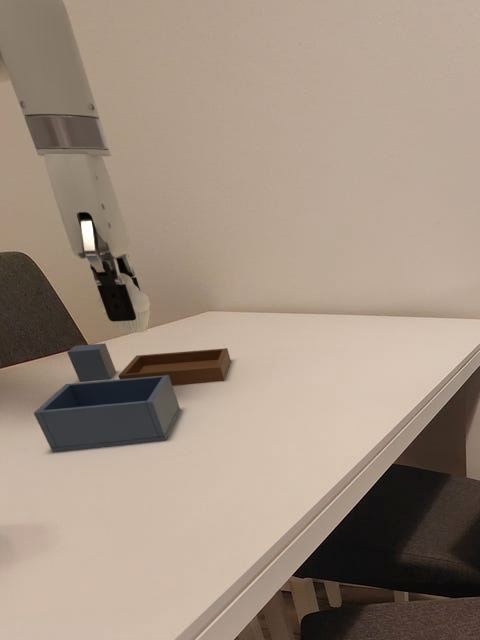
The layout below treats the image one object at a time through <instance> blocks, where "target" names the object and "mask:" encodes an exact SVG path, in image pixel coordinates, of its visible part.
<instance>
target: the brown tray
mask: <svg viewBox="0 0 480 640" xmlns="http://www.w3.org/2000/svg"><path fill="white" fill-rule="evenodd" d="M231 362H232V360H231V357H230V352H229V349H228V347H225V348H212V349H202V350H189V351H188V350H186V351H175V352H163V353H150V354H138V355H135V356H134V358H132V360H131V361H129V363H128V364H127V365H126V367H125V368H124V369H123V370H122V371H121V372H120V373H119V374H118V379H130V378H141V377H153V376H164V375H169V377H170V380H171V383H172V386H184V385H194V384H196V385H197V384H206V383H216V382H225V380H226V377H227V374H228V371H229V368H230V365H231Z"/></svg>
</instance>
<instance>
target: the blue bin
mask: <svg viewBox="0 0 480 640" xmlns="http://www.w3.org/2000/svg"><path fill="white" fill-rule="evenodd" d="M173 386H174V385H173ZM173 386H172V383H171V380H170V377H169V375H164V376H153V377H141V378H130V379H119V378H118V379H110V380H98V381H86V382H71V383H65V384H64V385H63V386H62V387H61V388H59V389H58V390H57V391H56V392H55V393H54V394H53V395H51V397H50V398H48V399H47V400H46V401H45V402H44V403H43V404H42V405H41V406H39V407H38V408H37V409H36V410H35V411H34V412H33V415H34V417H35V419H36V422H37V423H38V426H39V427H40V429H41V431H42V434H43V435H44V437H45V440H46V441H47V444H48V445H49V448H50V449H51V452H52V453H53V454H54V453H61V452H72V451H82V450H90V449H91V450H92V449H93V450H94V449H101V448H111V447H119V446H131V445H139V444H147V443H157V442H158V443H159V442H167V441H168V438H169V436H170V434H171V432H172V429H173V427H174V426H175V423H176V421H177V419H178V417H179V415H180V413H181V408H180V405H179V401H178V399H177V396H176V392H175V388H174V387H173Z"/></svg>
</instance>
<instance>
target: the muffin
mask: <svg viewBox="0 0 480 640" xmlns="http://www.w3.org/2000/svg"><path fill="white" fill-rule="evenodd" d="M120 276H121V280H122V284H126V287H127V290H128V293H129V296H130V299H131V302H132V305H133V308H134V311H135V314H136V319H135V320H133V321H114V322H113V321H110V322H111V324H113V325H114V326H115V328H116V329H118V331H119V332H120V333H122V334H139V333H144V332H146V331H148V328H149V327H148V326H149V321H150V316H151V309H150V305H151V301H150V298H149V297H148V294H146V293H145V292H144V291H139V289H138V287H137V286H135V285H134V283H133V280H132V279H131V278H130V277H129V276H128V275H126V274H123V273H120ZM97 303H98V306H99V307H100V309H101V310H102V311H103V312H104V314H105V316H106V317H107V318H108V316H107V313H106V310H105V307H104V304H103V302H102V299H101V296H100V295H99V296H98V298H97Z"/></svg>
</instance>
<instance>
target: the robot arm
mask: <svg viewBox="0 0 480 640" xmlns="http://www.w3.org/2000/svg"><path fill="white" fill-rule="evenodd" d="M4 82H11V85H12V87H13V90H14V93H15V96H16V99H17V101H18V105H19V107H20V110H21V112H22V115H23V118H24V120H25V123H26V127H27V129H28V132H29V134H30V137H31V140H32V143H33V146H34V148H35V150H36V153H37V156H41V157H43V158H44V163H45V166H46V171H47V175H48V177H49V178H48V179H49V182H50V185H51V189H52V193H53V195H54V198H55V202H56V205H57V208H58V211H59V214H60V218H61V221H62V223H63V227H64V230H65V233H66V237H67V239H68V242H69V245H70V248H71V250H72V253H73V254H74V256H76V257H77V258H78V259H80V260H81V259H82V260H84V259H87V261H88V262H89V268H90V270H91V271H92V275H93V280H94V283H95V284H96V287H97V290H98V294H99V296H101V299H102V302H103V304H104V307H105V310H106V313H107V316H108V317H107V316H106V317H107V318H108V320H109V321H110V322H111V321H113V322H114V321H133V320H135V319H136V314H135V311H134V308H133V305H132V302H131V299H130V296H129V293H128V290H127V287H126V284H122V280H121V276H120V273H123V274H126V275H128V276H129V277H130V278H131V279H132V280H133V283H134V285H135V286H137V287H138V289H139V291H141V287H140V285H139V282H138V281H139V280H138V278H137V277H136V273H135V270H134V267H133V265H132V262H131V259H130V258H129V257H130V255H129V254H128V253H129V252H130V250H131V242H130V237H129V233H128V230H127V225H126V222H125V220H124V217H123V214H122V213H123V212H122V210H121V207H120V205H119V201H118V198H117V196H116V192H115V188H114V187H113V186H114V185H113V184H112V180H111V176H110V175H109V172H108V169H107V167H106V164H105V161H104V159H103V158H104V157H111V156H112V154H111V151H110V147H109V143H108V141H107V137H106V134H105V131H104V127H103V124H102V121H101V119H100V115H99V111H98V108H97V105H96V101H95V98H94V94H93V92H92V88H91V85H90V81H89V78H88V75H87V72H86V69H85V66H84V62H83V58H82V56H81V52H80V49H79V47H78V43H77V39H76V35H75V33H74V30H73V26H72V24H71V19H70V16H69V13H68V11H67V7H66V5H65V2H64V0H0V83H4Z"/></svg>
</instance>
